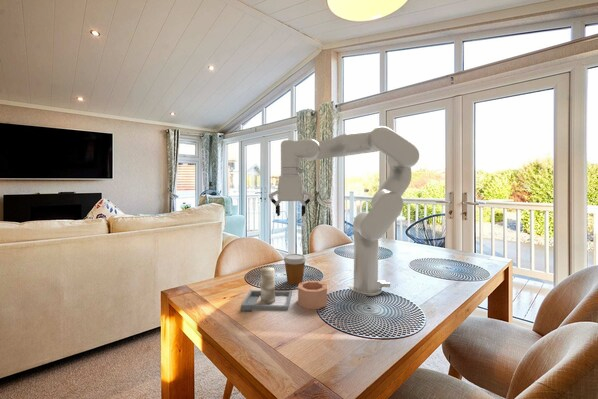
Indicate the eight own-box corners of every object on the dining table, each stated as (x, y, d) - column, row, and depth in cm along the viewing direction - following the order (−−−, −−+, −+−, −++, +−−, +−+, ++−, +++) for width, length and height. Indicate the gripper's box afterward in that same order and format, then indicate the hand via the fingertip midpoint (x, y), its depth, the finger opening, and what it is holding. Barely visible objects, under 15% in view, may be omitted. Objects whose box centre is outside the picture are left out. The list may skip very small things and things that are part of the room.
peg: (275, 299, 104) (275, 267, 104) (273, 305, 99) (273, 271, 99) (262, 299, 105) (262, 267, 104) (259, 305, 100) (259, 271, 99)
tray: (291, 296, 108) (291, 291, 108) (288, 312, 95) (288, 306, 95) (250, 295, 109) (250, 290, 109) (241, 311, 96) (241, 305, 96)
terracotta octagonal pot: (326, 299, 106) (326, 281, 105) (327, 312, 96) (327, 291, 95) (299, 298, 106) (299, 280, 106) (297, 311, 96) (297, 291, 96)
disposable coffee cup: (303, 289, 116) (303, 260, 115) (281, 287, 118) (281, 258, 117) (307, 280, 125) (307, 254, 124) (286, 279, 127) (286, 253, 126)
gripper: (312, 172, 114) (312, 214, 116) (270, 172, 116) (270, 214, 117) (312, 172, 107) (312, 217, 108) (266, 172, 108) (267, 216, 109)
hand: (290, 215), depth 112 cm, fingers open, 9 cm apart
